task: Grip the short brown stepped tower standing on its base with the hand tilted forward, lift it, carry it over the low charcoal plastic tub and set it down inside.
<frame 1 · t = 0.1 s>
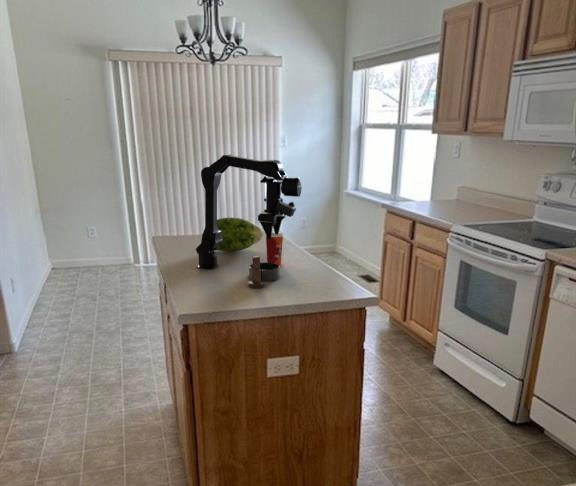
hand: (273, 236, 206), 15 cm above the counter, tool pointing down, fingers open, 9 cm apart
tub: (264, 277, 206), on the counter
paper cup: (274, 265, 223), on the counter
brown stepped tower: (256, 286, 195), on the counter
lettuce: (235, 251, 247), on the counter
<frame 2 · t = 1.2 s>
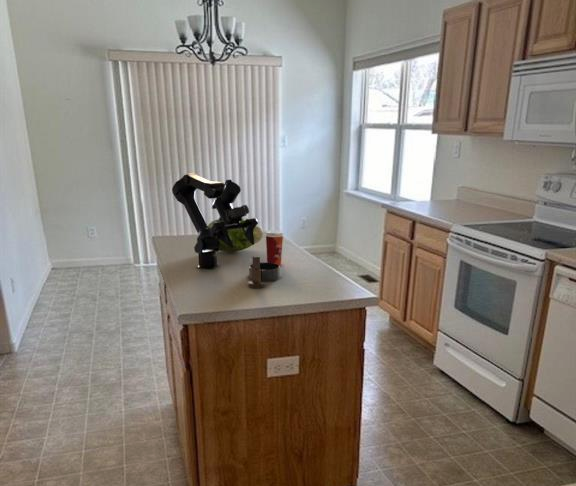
hand: (243, 246, 196), 13 cm above the counter, tool tilted 45°, fingers open, 9 cm apart
nothing on the counter moved.
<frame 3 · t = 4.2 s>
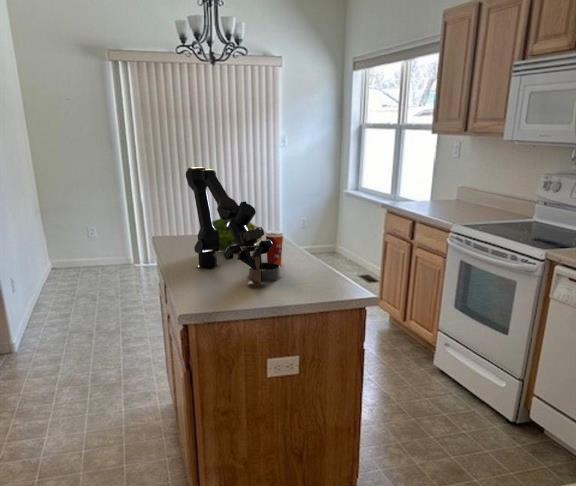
hand: (258, 269, 191), 7 cm above the counter, tool tilted 45°, fingers closed on brown stepped tower, 2 cm apart
brown stepped tower: (256, 286, 195), on the counter, touching gripper
everything else where it was.
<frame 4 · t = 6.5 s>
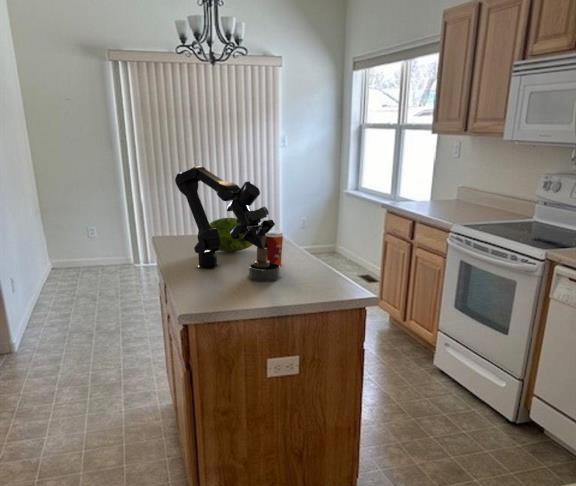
hand: (264, 248, 195), 13 cm above the counter, tool tilted 45°, fingers closed on brown stepped tower, 2 cm apart
brown stepped tower: (261, 265, 198), point 6 cm above the counter, touching gripper
everything else where it was.
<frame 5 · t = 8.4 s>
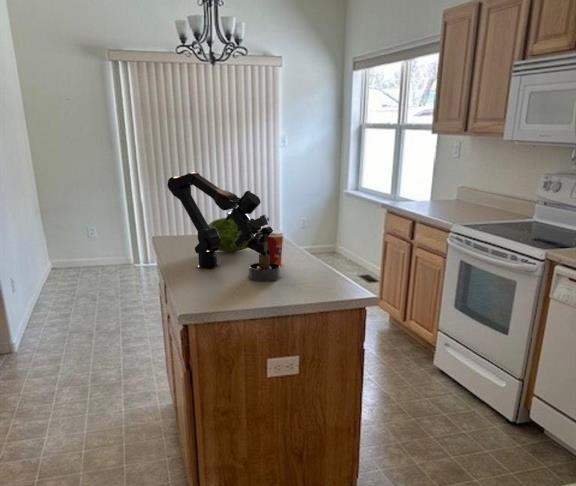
hand: (267, 254, 202), 9 cm above the counter, tool tilted 45°, fingers closed on brown stepped tower, 2 cm apart
brown stepped tower: (264, 271, 205), point 2 cm above the counter, touching gripper
everything else where it was.
when the fingers open (7 cm above the counter, at t = 9.3 s): brown stepped tower stays where it is, resting on tub.
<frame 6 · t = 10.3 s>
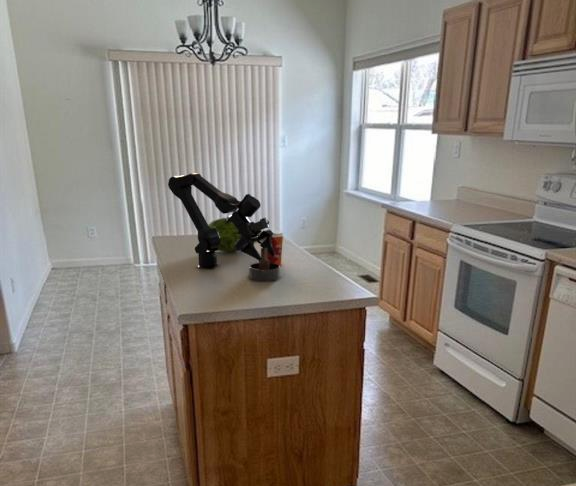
hand: (267, 257, 202), 8 cm above the counter, tool tilted 45°, fingers open, 9 cm apart
brown stepped tower: (264, 276, 206), resting on tub
everything else where it was.
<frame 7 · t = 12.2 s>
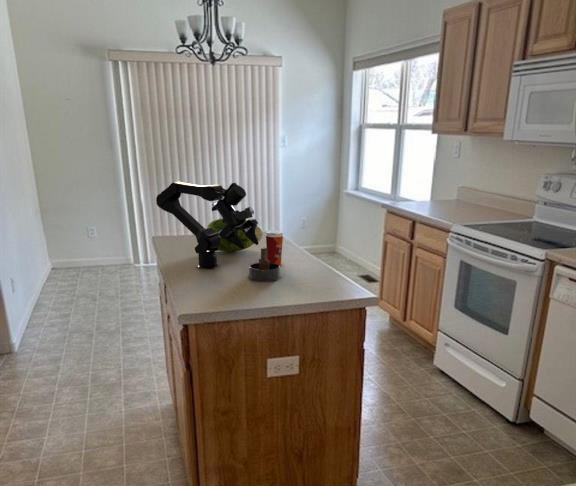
hand: (250, 246, 205), 11 cm above the counter, tool tilted 40°, fingers open, 9 cm apart
nothing on the counter moved.
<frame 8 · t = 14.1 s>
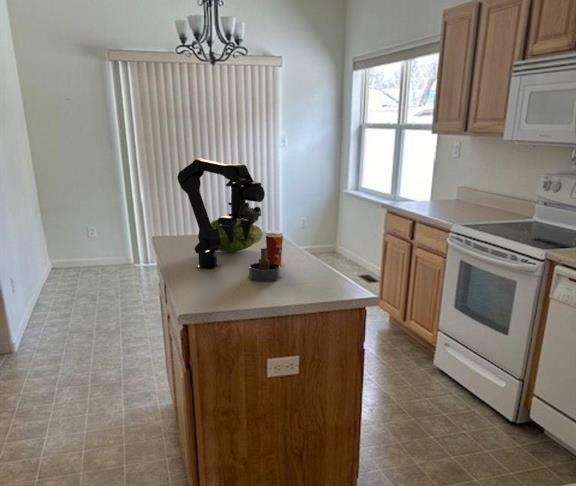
hand: (239, 240, 206), 13 cm above the counter, tool pointing down, fingers open, 9 cm apart
nothing on the counter moved.
at the end: brown stepped tower inside the target area in the tub (0.0 cm from its centre), point 0.5 cm above the tub's base; the gripper is holding nothing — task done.
